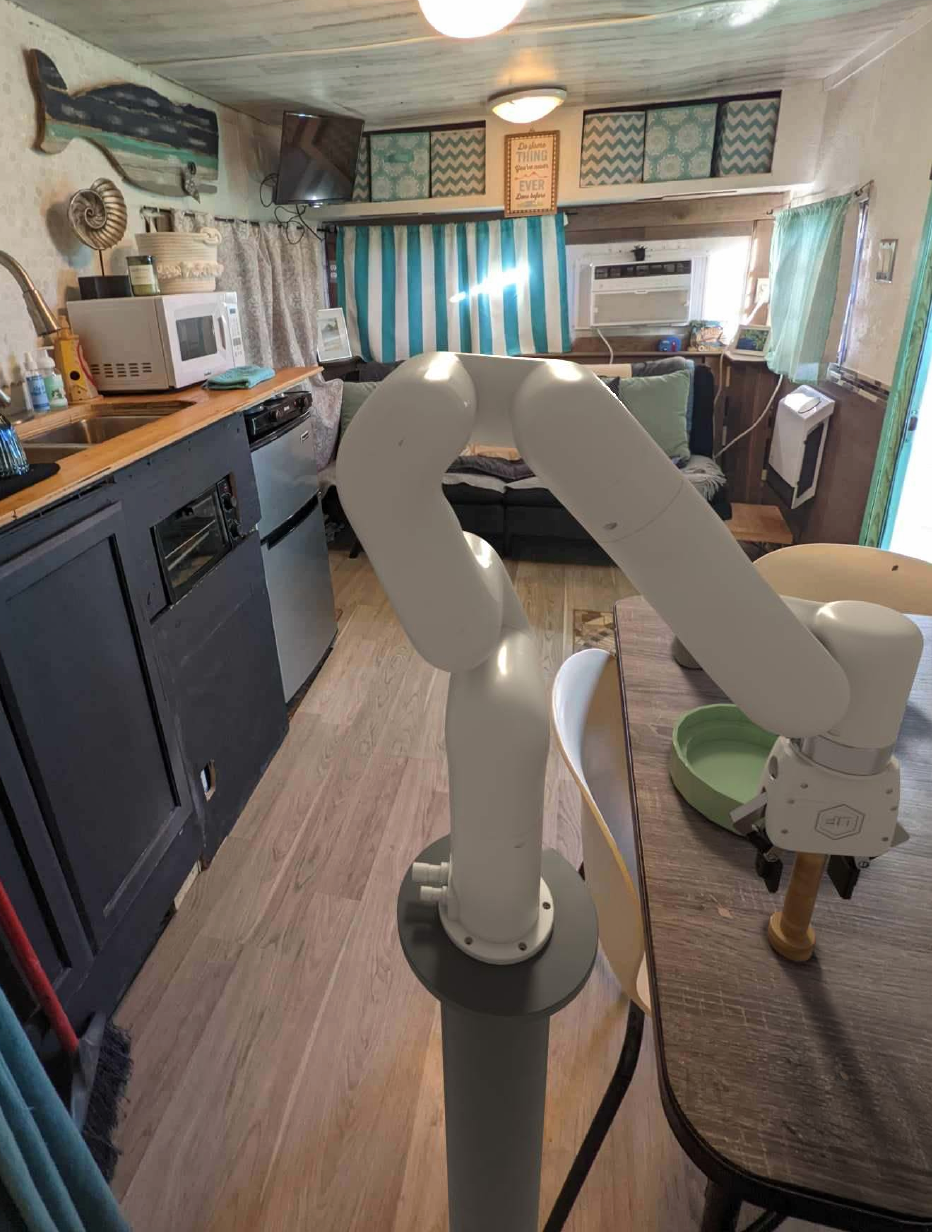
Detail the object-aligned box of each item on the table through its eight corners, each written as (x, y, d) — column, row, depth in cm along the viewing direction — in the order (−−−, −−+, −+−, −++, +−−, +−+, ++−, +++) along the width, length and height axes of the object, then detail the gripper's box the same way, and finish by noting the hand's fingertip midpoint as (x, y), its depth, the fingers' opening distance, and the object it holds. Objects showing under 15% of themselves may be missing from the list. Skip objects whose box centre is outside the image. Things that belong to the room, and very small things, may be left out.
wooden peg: (776, 959, 63) (801, 858, 58) (761, 921, 67) (783, 823, 62) (819, 964, 63) (848, 861, 58) (801, 925, 66) (827, 826, 61)
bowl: (691, 840, 77) (697, 806, 75) (653, 730, 95) (657, 700, 93) (873, 855, 74) (883, 820, 72) (797, 738, 92) (804, 707, 90)
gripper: (750, 760, 53) (721, 910, 60) (978, 774, 51) (922, 929, 57) (721, 704, 60) (698, 844, 67) (920, 714, 58) (876, 858, 64)
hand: (802, 882), depth 62 cm, fingers open, 5 cm apart
